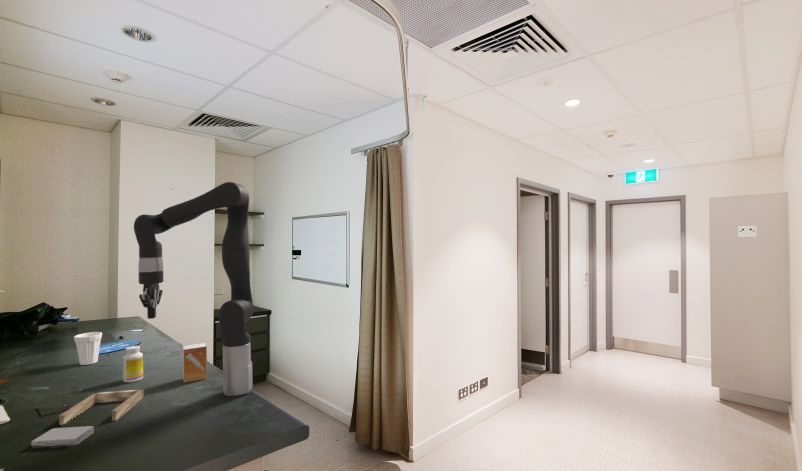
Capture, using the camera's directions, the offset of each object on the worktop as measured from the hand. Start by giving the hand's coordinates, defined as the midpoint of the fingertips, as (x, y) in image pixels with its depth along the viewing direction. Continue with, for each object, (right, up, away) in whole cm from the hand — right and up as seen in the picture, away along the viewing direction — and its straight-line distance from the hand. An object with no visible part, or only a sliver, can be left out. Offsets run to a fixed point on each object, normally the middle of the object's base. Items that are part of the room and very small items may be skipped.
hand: (151, 318), depth 139 cm
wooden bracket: (-6, -27, -14) cm, 31 cm away
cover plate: (-4, -28, -32) cm, 42 cm away
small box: (+8, -27, +13) cm, 31 cm away
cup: (-51, -28, +35) cm, 68 cm away
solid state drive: (-25, -28, -12) cm, 39 cm away
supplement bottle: (-16, -28, +13) cm, 35 cm away
